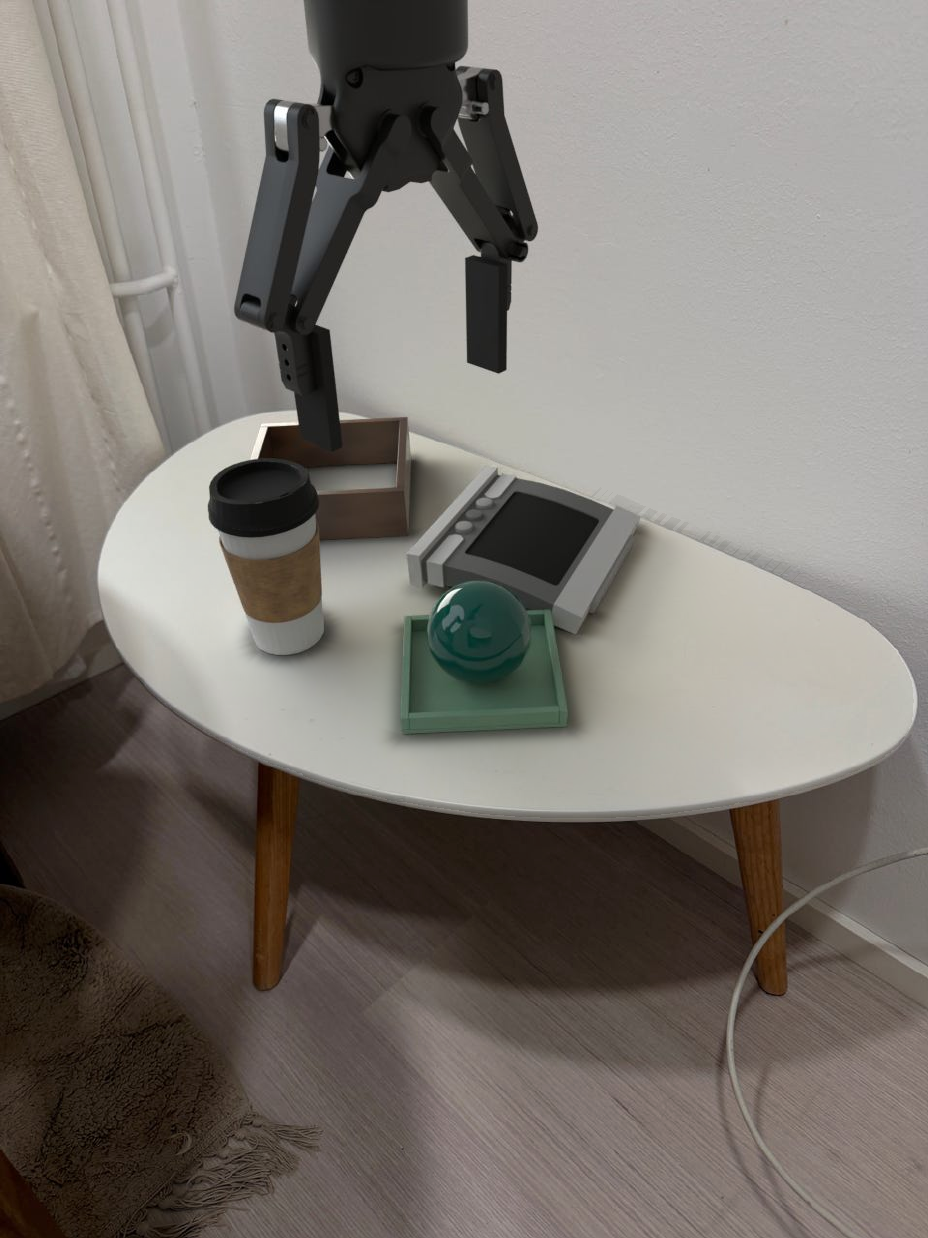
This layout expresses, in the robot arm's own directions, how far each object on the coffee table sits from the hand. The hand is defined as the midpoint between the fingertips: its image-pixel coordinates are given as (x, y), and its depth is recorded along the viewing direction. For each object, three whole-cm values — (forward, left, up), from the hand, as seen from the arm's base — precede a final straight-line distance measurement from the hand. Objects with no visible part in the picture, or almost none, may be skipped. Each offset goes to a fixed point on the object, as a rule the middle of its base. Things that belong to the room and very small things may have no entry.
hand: (409, 402), depth 54 cm
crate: (-10, +32, -25) cm, 42 cm away
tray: (+4, +4, -25) cm, 26 cm away
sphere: (+4, +4, -25) cm, 25 cm away
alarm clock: (+9, +19, -25) cm, 33 cm away
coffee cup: (-12, +10, -25) cm, 30 cm away
